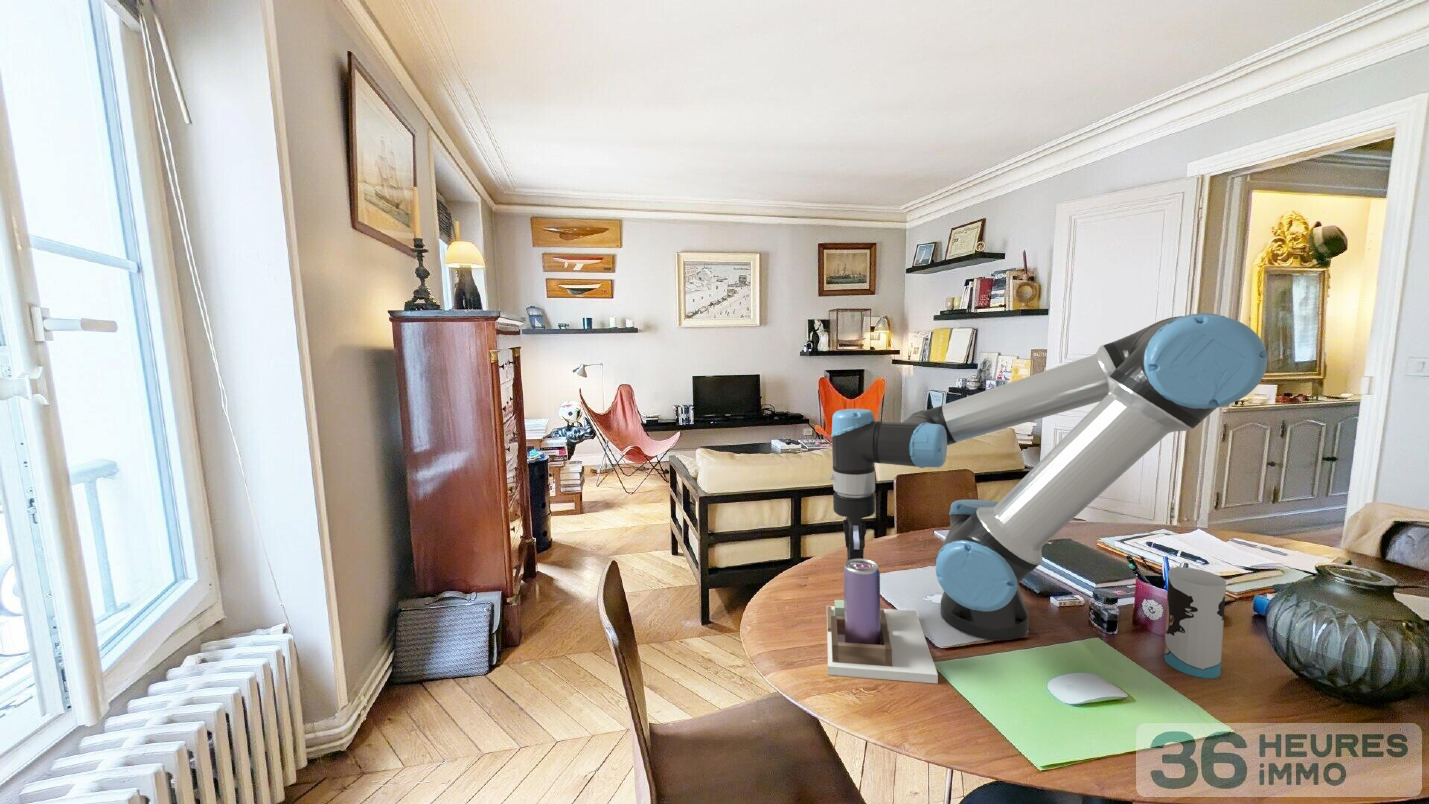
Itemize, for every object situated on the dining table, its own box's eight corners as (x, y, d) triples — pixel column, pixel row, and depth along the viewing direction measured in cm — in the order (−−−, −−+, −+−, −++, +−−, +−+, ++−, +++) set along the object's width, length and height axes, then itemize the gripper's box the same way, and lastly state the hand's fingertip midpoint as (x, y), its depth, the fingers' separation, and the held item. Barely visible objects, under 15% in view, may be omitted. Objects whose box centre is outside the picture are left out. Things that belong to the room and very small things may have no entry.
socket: (885, 634, 94) (884, 618, 94) (892, 666, 85) (891, 649, 85) (831, 631, 96) (830, 615, 96) (832, 662, 87) (832, 645, 87)
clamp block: (878, 622, 98) (878, 601, 98) (880, 630, 96) (879, 610, 95) (834, 619, 100) (834, 599, 100) (835, 628, 97) (834, 607, 97)
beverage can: (882, 659, 87) (881, 573, 85) (845, 656, 88) (844, 572, 87) (878, 639, 93) (877, 558, 91) (844, 637, 94) (842, 557, 92)
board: (915, 617, 102) (915, 607, 102) (937, 683, 83) (937, 670, 82) (826, 612, 106) (826, 602, 105) (828, 674, 86) (827, 662, 86)
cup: (1215, 660, 85) (1221, 572, 83) (1224, 683, 80) (1230, 590, 78) (1161, 648, 89) (1165, 564, 87) (1166, 669, 83) (1171, 580, 82)
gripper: (832, 482, 104) (834, 594, 107) (833, 502, 92) (836, 629, 94) (871, 482, 103) (872, 596, 105) (878, 503, 90) (880, 632, 93)
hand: (855, 611), depth 100 cm, fingers closed
